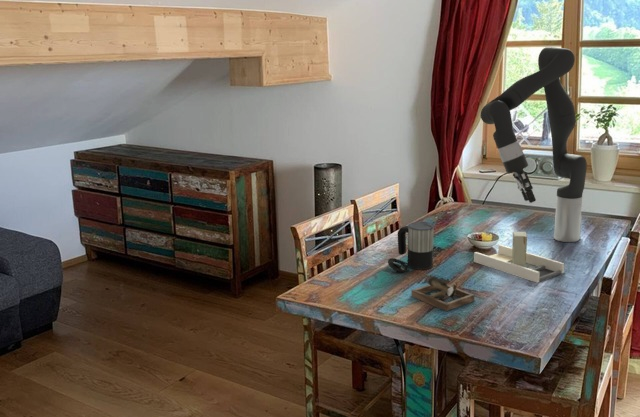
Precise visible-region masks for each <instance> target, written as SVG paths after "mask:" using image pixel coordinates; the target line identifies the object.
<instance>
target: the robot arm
mask: <svg viewBox="0 0 640 417" xmlns="http://www.w3.org/2000/svg"><path fill="white" fill-rule="evenodd" d="M538 54H539V55H538V60H537V62H538V63H537V64H538V70H537V71H536V72H534V73H531V74H529V75H527V76H525V77H522V78H520V79H518V80H517V81H516V82H514V83H513V84H512V85H510V86H509V87H508V88H507V89H505V90H504V91H503V92H502V93H501V94H500V95H499V96H497V97H495V98H494V99H492V100H491V101H489V102H488V103H486V104H485V105H484V106H483V107H482V109H481V111H480V118H481V121H482V122H483V123H484V124H486V125H494V129H495V131H494V132H493V134H492V138H493V140H494V143H495V145H496V147H497V150H498V154H499V157H500V160H501V162H502V165H503V167H504V170H505V172H506V174H507V175H508V174H512V176H513V179H514V181H515V184H516V186H517V189H518V190H519V191H520V192H521V194H522V197H523V199H524V201H525V202H529V203H530V204H533V203H535V202H536V201H537V199H536V197H535V194H534V192H533V189H534V187H533V185H532V183H531V181H530V179H529V176H528V173H527V172H526V171H524V169H526V168H527V167H528V166H529V164H528V161H527V158H526V156H525V152H524V151H523V148H522V146H521V145H520V143H519V141H518V138H517V136H516V134H515V132H514V128H513V127H514V126H513V119H512V114H511V111H512V110H514V109H516V108H518V107H519V106H520V105H521V104H523V103H524V102H525V101H527V99H529V98H530V97H531V96H532V95H535V94H536V93H537V92H538V91H540V90H541V89H544V90H543V91H544V96H545V101H546V107H547V116H548V123H549V129H550V134H551V144H552V146H551V147H552V166H553V172H554V174H555V175H556V176H557V177H559V178H563V179H568V180H569V183H568V185H563V186H559V187H558V188H557V189H556V202H555V217H554V218H555V219H554V234H553V235H554V236H553V238H554V240H556V241H557V242H558V241H559V242H563V243H576V242H578V241H580V239H581V236H582V235H581V234H582V220H583V216H582V207H583V206H582V203H583V193H584V189H585V185H586V184H585V183H586V177H587V176H586V175H587V169H588V164H587V159H586V157H585V156H583V155H580V154H571V153H568V150H567V142H568V139H569V137H570V135H571V134H572V131H573V130H574V128H575V126H576V123H577V122H576V110H575V106H574V103H573V101H572V99H571V97H570V96H569V94H568V92H567V91H566V90H565V88H564V86H563V85H562V82H561V79H560V78H561V77H563V76H565V75H566V74H568V73H569V72H571V70H572V69H573V67H574V64H575V54H574V52H573V51H572V50H571V49H569V48H564V47H555V46H547V47H543V49H542V50H541V51H540V52H539V53H538Z"/></svg>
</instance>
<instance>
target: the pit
mask: <svg viewBox="0 0 640 417" xmlns="http://www.w3.org/2000/svg"><path fill="white" fill-rule="evenodd" d="M532 270H535V271H538V272H540V275H539V282H538V283H540V282H543V281H546V280H548V279H551V278H554V277H557V276H559V275H562V274H561V271H560V270H558V271H552V270H549V269H545V266H544V265H543V266H540V267H538V266H536V268H535V267H534V268H532Z"/></svg>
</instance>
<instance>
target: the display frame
mask: <svg viewBox="0 0 640 417" xmlns="http://www.w3.org/2000/svg"><path fill="white" fill-rule="evenodd" d="M447 285H448V288H450V287H451V286H452V285H449V284H447ZM456 289H457V290H456V292H455V297H459V298H456V299H454V300H453V299H452V300H451V301H448V302H445V301H443V300H441V299H439V298H438V299H436V298H433V297H431V296H429V295H428V294H429V293H431V292H433V291H436V290H438V289H436V288H434V287H433V286H431V285H429V284H427V285H424V286H421V287H418V288H415V289H412V290H411V297H413V298H415V299H417V300H420V301H422V302H424V303H425V304H426V303H427V304H429V305H431V306H433V307H436V308H438V309H440V310H443V311H446V312H448V311H450V310H453V309H456V308H459V307H462V306H465V305H467V304H470V303H472V302H475V294H473V293H471V292H468V291H465V290H463V289H460V288H458V287H457V288H456ZM427 293H428V294H427Z"/></svg>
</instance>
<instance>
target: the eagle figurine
mask: <svg viewBox="0 0 640 417" xmlns="http://www.w3.org/2000/svg"><path fill="white" fill-rule="evenodd" d="M427 282H428V285H431V286H433V287H434V288H436V289H437V290H439V292H435V293H434V292H433V293H430V295H429V296H431V297H433V298H436V299H438V300H441V299H444V298H445V296H447V297H450V298H451V299H452V301H453V300H455V297H456V295H455V292H456V290H457V289H456V288H458V287H457V286H458V282H456V283H455V284H453V285H450V286H451V287H450V288H448V285H449V284H447V282H445V281H442V280H441V279H439V278H438V277H437V276H430V277H429V278H428V280H427Z"/></svg>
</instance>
